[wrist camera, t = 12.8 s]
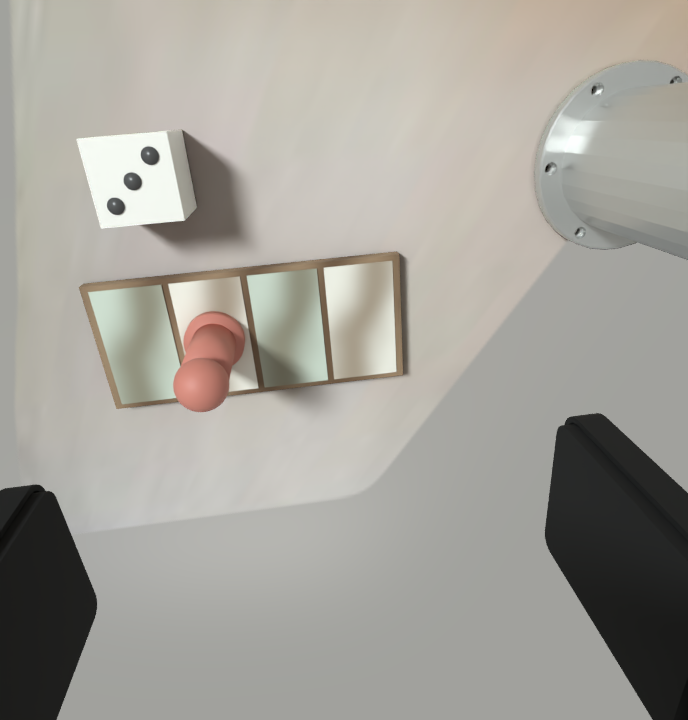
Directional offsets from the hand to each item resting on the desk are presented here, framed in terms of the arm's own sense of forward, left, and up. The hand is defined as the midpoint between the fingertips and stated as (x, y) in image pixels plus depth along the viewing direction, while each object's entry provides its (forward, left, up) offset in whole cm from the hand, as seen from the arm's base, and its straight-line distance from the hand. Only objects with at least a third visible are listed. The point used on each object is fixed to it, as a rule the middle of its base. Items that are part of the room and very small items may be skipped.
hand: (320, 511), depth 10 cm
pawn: (+7, +8, -29) cm, 31 cm away
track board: (+4, +8, -30) cm, 31 cm away
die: (+9, -4, -30) cm, 32 cm away
